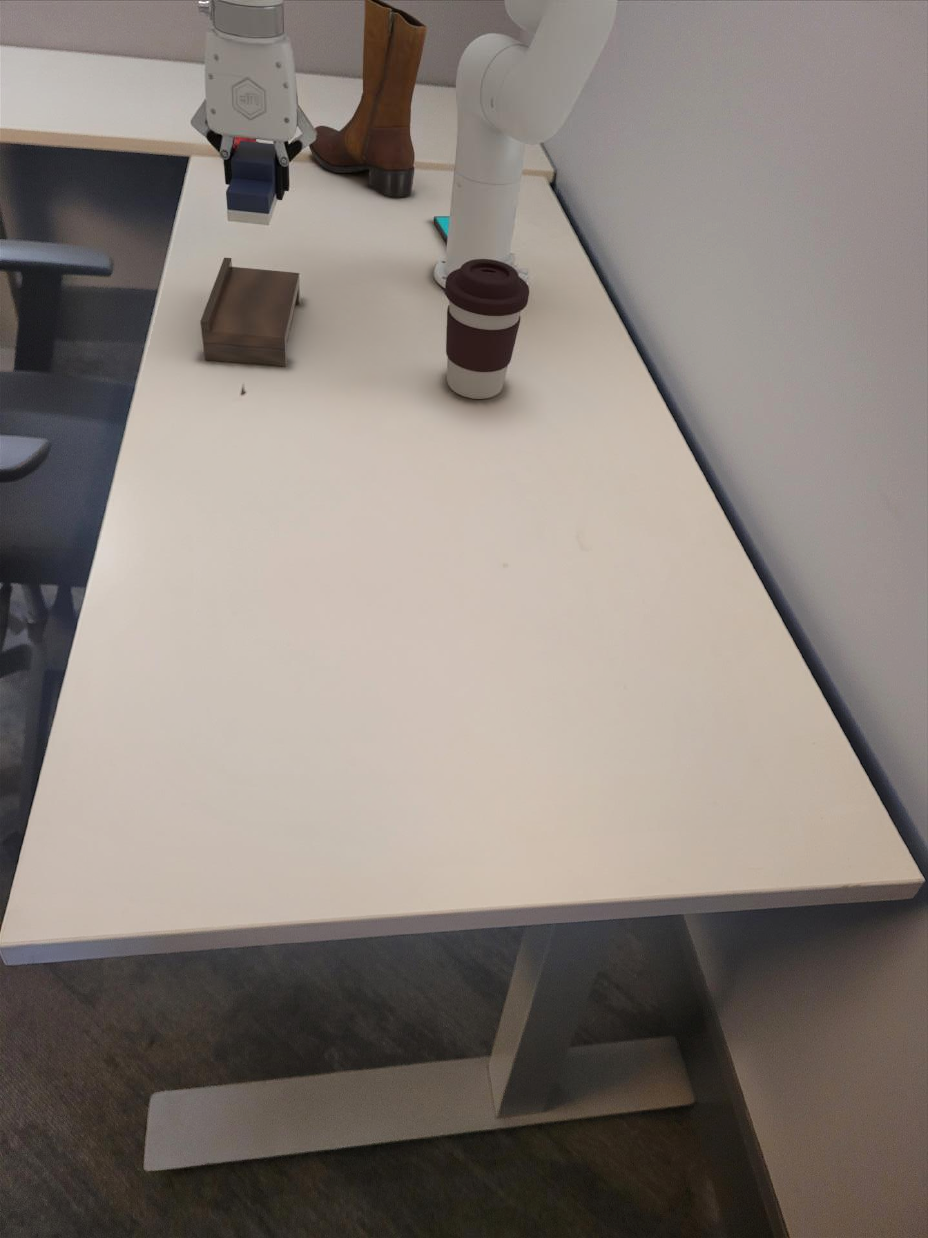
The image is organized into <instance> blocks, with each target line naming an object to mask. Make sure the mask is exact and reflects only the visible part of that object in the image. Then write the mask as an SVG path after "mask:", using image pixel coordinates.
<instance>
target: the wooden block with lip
mask: <svg viewBox="0 0 928 1238" xmlns="http://www.w3.org/2000/svg"><path fill="white" fill-rule="evenodd" d="M300 293H301V291H300V273H299V272H293V271H283V270H273V269H272V270H271V269H262V268H261V269H260V268H250V267H240V266H239V267H238V266H233V258H232V257H225V256H224V258H223V259H222V262H221V265H220V267H219V270H218V273H217V275H216V279H215V281H214V283H213V286H212V288H211V291H210V294H209V297H208V300H207V303H206V305H205V308H204V311H203V313H202V316H201V319H200V330H201V338H202V346H203V355H204V361H210V362H211V361H212V362H223V363H224V362H225V363H238V364H251V365H261V366H273V367H287V363H288V355H287V343H288V338H289V333H290V329H291V324H292V320H293V315H294V310H295V306H296V305H300V302H301V295H300Z"/></svg>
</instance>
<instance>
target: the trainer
mask: <svg viewBox="0 0 928 1238" xmlns="http://www.w3.org/2000/svg"><path fill="white" fill-rule="evenodd" d="M277 158H278V157H277V153H276V150H275V146H274V143H267V142H261V141H257V142H252V141H243V140H240V142H239V144H238V146H237V148H236V150H235V153H234V155H233V157H232V159H231V167H232V180H231V182H230V184H229V185H228V186H227V188H226V191H225V198H226V199H225V200H226V209H227V210H226V216H227V218H226V219H227V221H228V222H235V223H243V224H252V225H253V224H255V225H263V226H270V223H271V220H272V217H273V214H274V212H275V208H276V205H277V202H278V201H279V200H278V199H276V181H275V165H276V163H277Z"/></svg>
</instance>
